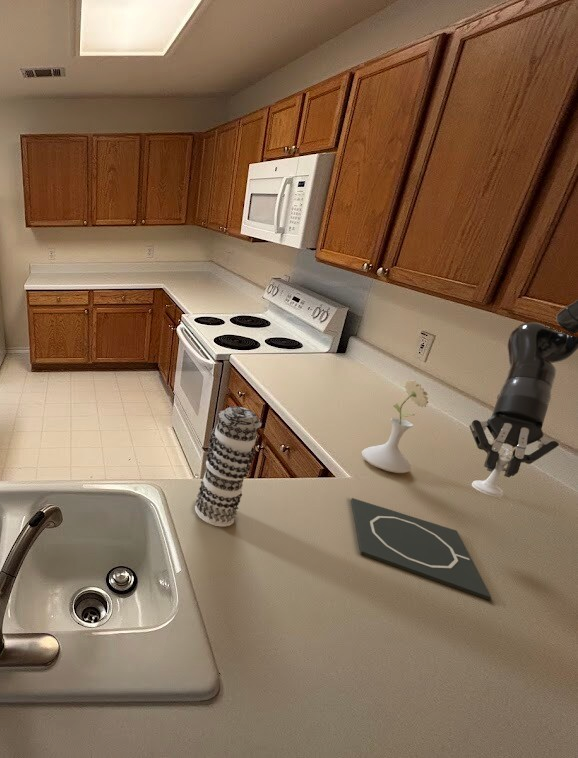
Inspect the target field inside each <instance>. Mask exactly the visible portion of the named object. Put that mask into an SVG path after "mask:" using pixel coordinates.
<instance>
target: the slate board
mask: <svg viewBox="0 0 578 758" xmlns="http://www.w3.org/2000/svg"><path fill="white" fill-rule="evenodd" d="M350 504H351V509H352V514H353V521H354V525H355V526H354V527H355V531H356V537H357V542H358V543H357V544H358V547H359V548H358V549H359V555H361V556H365V557H367V558H370V559H373V560H376V561H378V562H381V563H383V564H387V565H388V566H392V567H395V568H398V569H400V570H403V571H405V572H409V573H411V574H414V575H417V576H420V577H423V578H426V579H428V580H430V581H434V582H437V583H439V584H442V585H445V586H447V587H451V588H453V589H457V590H458V591H461V592H464V593H468V594H470V595H473V596H476V597H477V598H478V597H479V598H482V599H484V600H486V601H490V600H491V599H492V596H491V593H490V592H489V590H488V588H487V586H486V584H485V582H484V580H483V579H482V577H481V575H480V572H479V571H478V569H477V567H476V565H475V563H474V561H473V559H472V557H471V556H470V554H469V551H468V550H467V547H466V545H465V544H464V542H463V540H462V538H461V536H460V534H459V532H458V530H456V529H453V528H449V527H446V526H443V525H440V524H436V523H434V522H432V521H431V522H430V521H427V520H424V519H421V518H418V517H414V516H412V515H409V514H405V513H402V512H398V511H397V510H392V509H388V508H387V507H386V508H385V507H383V506H379V505H376V504H372V503H370V502H367V501H363V500H360V499H357V498H353V497H351V499H350Z"/></svg>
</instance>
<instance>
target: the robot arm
mask: <svg viewBox="0 0 578 758" xmlns="http://www.w3.org/2000/svg"><path fill="white" fill-rule="evenodd" d="M555 319H556V322H557V324H558V325H559V326H560V327H561V328H562V329H564V331H565V332H566V331H568V332H569V333H571V334H574V333H577V332H578V298H577V299H576V300H574V301H573V302H571V303H569V304H568V305H566V306H565V307H563V308H562V309H561V310H559V311H558V312H557V314H556V315H555ZM545 327H548V328H545ZM550 327H551V326H548V325H546V326H545V324H543V323H540V322H536V321H528V322H524V323H522V324H520V325H518V326H516V327H514V329H513V330H512V331H511V332H510V334H509V336H508V337H507V342H506V351H507V359H508V367H509V369H508V372H507V374H506V378H505V381H504V383H503V385H502V386H501V389H500V390H499V393H498V395H497V397H496V402H495V405H494V408H493V411H492V414H491V416H490V417H489V418H488V419H487V420H486V421H480V420H478V419H473V421H471V423H470V424H469V426H468V427H469V429H470V432H471V434H472V436H473V439H474V442H475V444H476V447H477V449H479V450H481V451H484V452H486V458H485V461H484V464H483V465H484V468H486V471H487V472H491V473H492V472H493V471H494V469H495V466H496V465H497V460H498V457H499V455H500V453H499V452H500V451H501V448H502V446H503V444H505V445H508V446H511V455H510V456H511V458H510V459H511V461H510V462H509V463H508V464H506V468H505V469H506V471H504V475H503V476H504V477H506V478H511V477H514V476H515V475H517V474H518V473H519V472H520V471H519V470H520V467H521V464H522V463H524V464H526V465H531V464H533V463H534V462H536V461H537V460H539V459H541V458H543V457H544V456H546V455H548V454H549V453H550V452H552V451H554V449H556V448H558V447H559V443H558V442H557V441H556V440H550V439H548V438H547V437H545V436H544V432H543V425H544V422H545V419H546V415H547V412H548V409H549V406H550V403H551V398H552V389H553V386H554V383H555V379H556V376H557V368H556V367H555V365H554V364H556V363H560V362H564V361H566V360H568V359H569V358H571V357H572V356H573V355H574V354H575V353H576V352H577V351H578V337H574V336H571V335H568V334H565V333H562V332H563V331H561V332H558V331H556V330H557V329H556V330H552V329H549V328H550ZM486 430H488V431H489V433H490V434H491V436H492V438H493V439H492V441H491V443H490V441H489V440H488V437H487V435H486V433H485V431H486ZM536 442H538V444H537V448H538V449H537V450H535V451H533V452H532V453H530V454H525V453H526V448H527V446H528V445H531V444H533V443H536Z"/></svg>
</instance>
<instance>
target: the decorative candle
mask: <svg viewBox="0 0 578 758" xmlns="http://www.w3.org/2000/svg"><path fill="white" fill-rule="evenodd" d="M262 424H263V423H262V421H261V420H260V419H259V418H258V416H257V414H256V413H255V412H254V411H252V410H251V409H249V408H246V407H242V406H229V407H227V408H226V409H224V410H220V411H219V412H218V420H217V424H216V427H215V428H212V430H211V432H210V437H209V440H208V441H209V447H207V451H208V452H207V453H206V461H205V466H206V470H205V473H204V474H203V478H202V480H201V481H200V486H199V488H198V489H199V492H198V493H197V495H196V497H197V498H196V499H195V500H196V501H195V503H196V504H195V506H194V510H195V514H196V515H197V516H198V517H199V518H200V519H201V520H203V521H204V522H205V523H207V524H210V525H211V526H216V527H220V528H224V527H229V526H231V525H233V524H234V522H235V519H236V516H237V514H238V513H237V510H238V509H239V504H240V502H241V498H242V496H243V493H242V490H243V486H244V485H243V483H244V479H246V478H247V477H248V474H249V471H251V467H252V466H251V465H250V464H252V463H253V462H254V457H255V456H256V453H257V450H255V447H259V445H260V443H259V442H258V440H257V438H258V436H257V435H258V430H259V428H261V427H262Z"/></svg>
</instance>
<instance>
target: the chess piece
mask: <svg viewBox="0 0 578 758" xmlns="http://www.w3.org/2000/svg"><path fill="white" fill-rule="evenodd" d="M511 452H512V449H508V448H507V449H506V450H504V451H503V453H504V454H503V455H500V454H499V457H498V460H497V463H496V466H495V469H494V470H493V471H492V472H491V473H490V475H488V477H487V478H486V479H483V480H480V479H478V480H473V481H472V483H471V486H472V488H474V489H475V490H477V491H478V492H480V493H482V494H485V495H487V496H490V497H496V498H502V497H503V495H504V491H503V490H502V489H501V488H500V487H499V486H498V484H497V483H498V481H499V477H500V475H501V472H505V471H506V468H505V466H507V465H508V463H509V462H510V461H511V458H510V456H511Z"/></svg>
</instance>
